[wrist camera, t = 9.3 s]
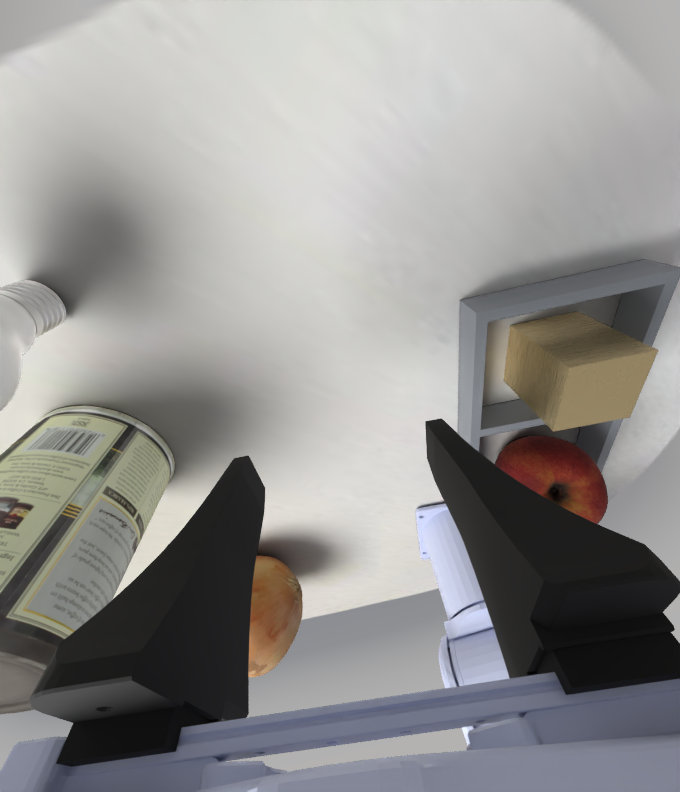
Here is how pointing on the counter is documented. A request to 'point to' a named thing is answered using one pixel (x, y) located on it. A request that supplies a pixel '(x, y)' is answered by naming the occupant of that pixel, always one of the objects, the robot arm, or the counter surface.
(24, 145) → the counter surface
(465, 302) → the grey divided tray
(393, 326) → the counter surface
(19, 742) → the robot arm
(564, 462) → the apple
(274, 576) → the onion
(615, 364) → the wooden block
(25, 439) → the coffee can
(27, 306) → the lightbulb
